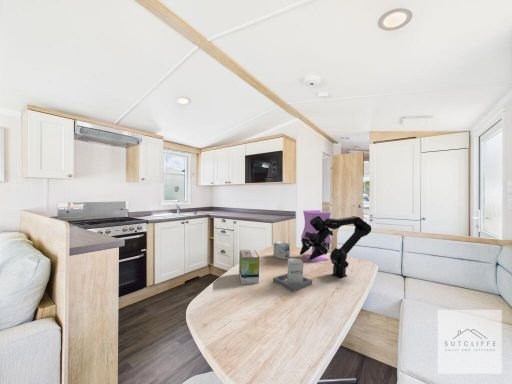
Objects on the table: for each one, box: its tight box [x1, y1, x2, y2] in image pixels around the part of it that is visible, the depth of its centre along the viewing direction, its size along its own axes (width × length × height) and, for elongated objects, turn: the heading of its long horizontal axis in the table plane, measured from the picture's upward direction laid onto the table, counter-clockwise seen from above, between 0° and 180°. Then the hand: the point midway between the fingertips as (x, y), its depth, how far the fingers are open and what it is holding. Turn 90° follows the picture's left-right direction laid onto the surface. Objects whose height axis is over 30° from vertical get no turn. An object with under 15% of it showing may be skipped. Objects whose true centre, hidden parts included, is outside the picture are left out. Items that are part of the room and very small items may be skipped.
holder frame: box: [272, 272, 313, 293], centre depth 125 cm, size 15×15×2 cm
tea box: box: [238, 249, 261, 285], centre depth 130 cm, size 15×10×15 cm, turn 9°
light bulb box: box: [273, 240, 291, 260], centre depth 170 cm, size 11×7×11 cm, turn 47°
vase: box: [300, 209, 332, 263], centre depth 169 cm, size 16×16×35 cm
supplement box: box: [286, 258, 304, 285], centre depth 125 cm, size 7×7×13 cm
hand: (304, 257), depth 127 cm, fingers open, 9 cm apart
